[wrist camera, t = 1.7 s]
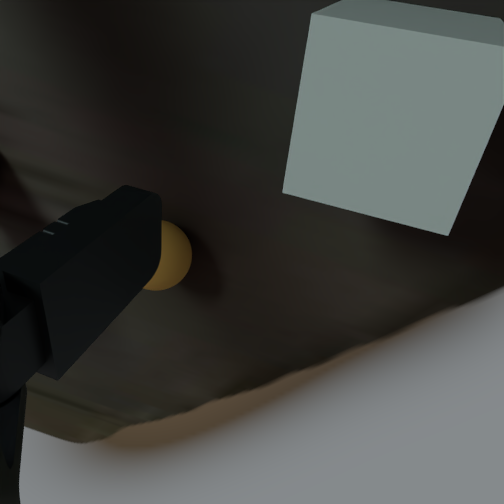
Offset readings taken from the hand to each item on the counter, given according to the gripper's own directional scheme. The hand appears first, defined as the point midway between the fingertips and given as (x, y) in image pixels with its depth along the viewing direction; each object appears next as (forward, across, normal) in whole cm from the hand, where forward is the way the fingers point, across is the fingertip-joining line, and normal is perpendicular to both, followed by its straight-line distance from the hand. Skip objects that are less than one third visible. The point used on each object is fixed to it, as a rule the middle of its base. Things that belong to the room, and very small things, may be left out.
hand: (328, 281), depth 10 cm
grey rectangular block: (+18, 0, 0) cm, 18 cm away
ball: (+16, +13, +14) cm, 24 cm away
